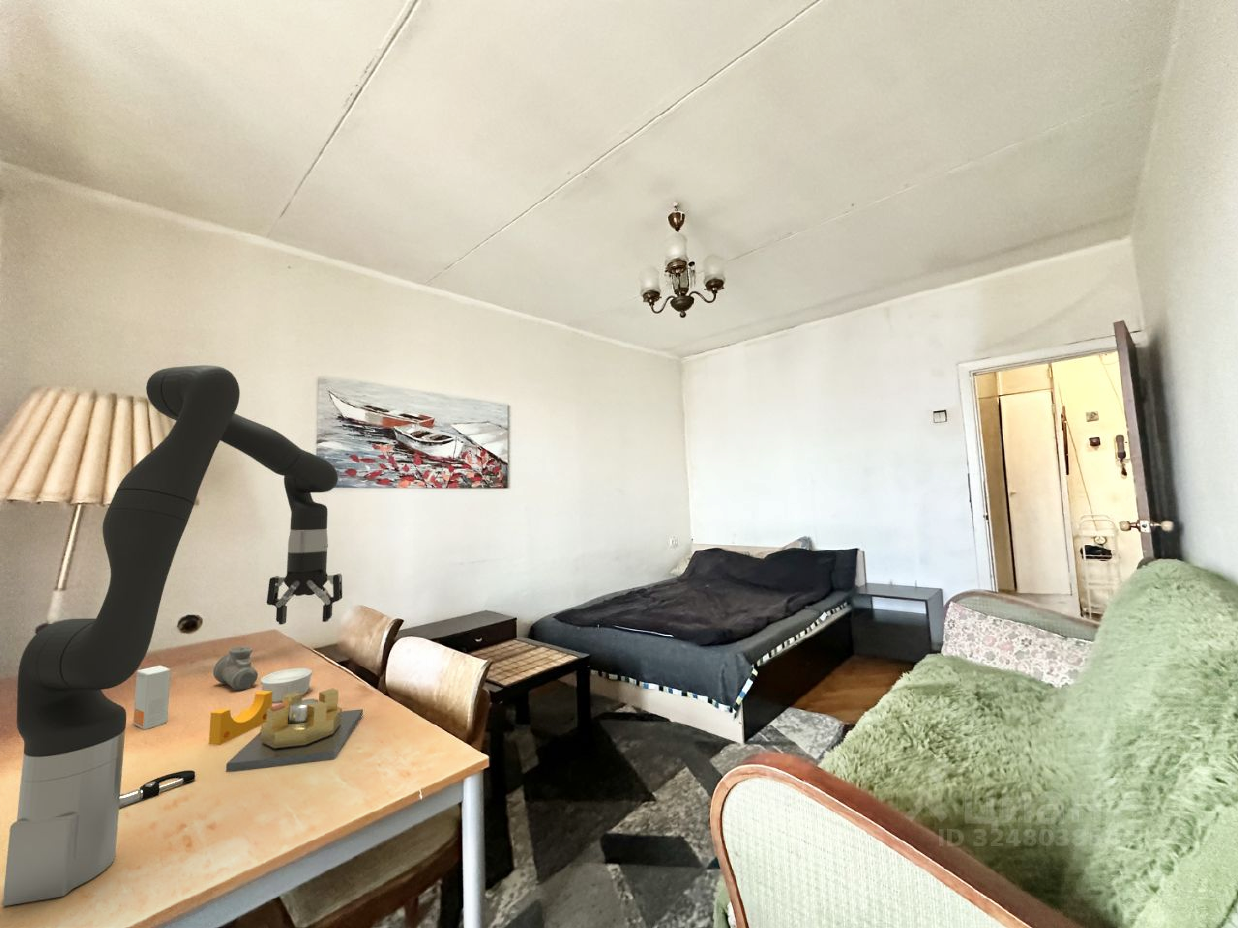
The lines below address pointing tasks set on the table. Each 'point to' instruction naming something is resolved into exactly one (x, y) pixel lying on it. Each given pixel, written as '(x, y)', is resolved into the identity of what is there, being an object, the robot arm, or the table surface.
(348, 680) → the table surface
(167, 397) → the robot arm
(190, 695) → the table surface
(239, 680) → the pipe fitting
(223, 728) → the pipe clamp
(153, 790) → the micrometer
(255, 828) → the table surface
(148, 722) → the skincare box
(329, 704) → the ring nut
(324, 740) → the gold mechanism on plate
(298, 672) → the ramekin
